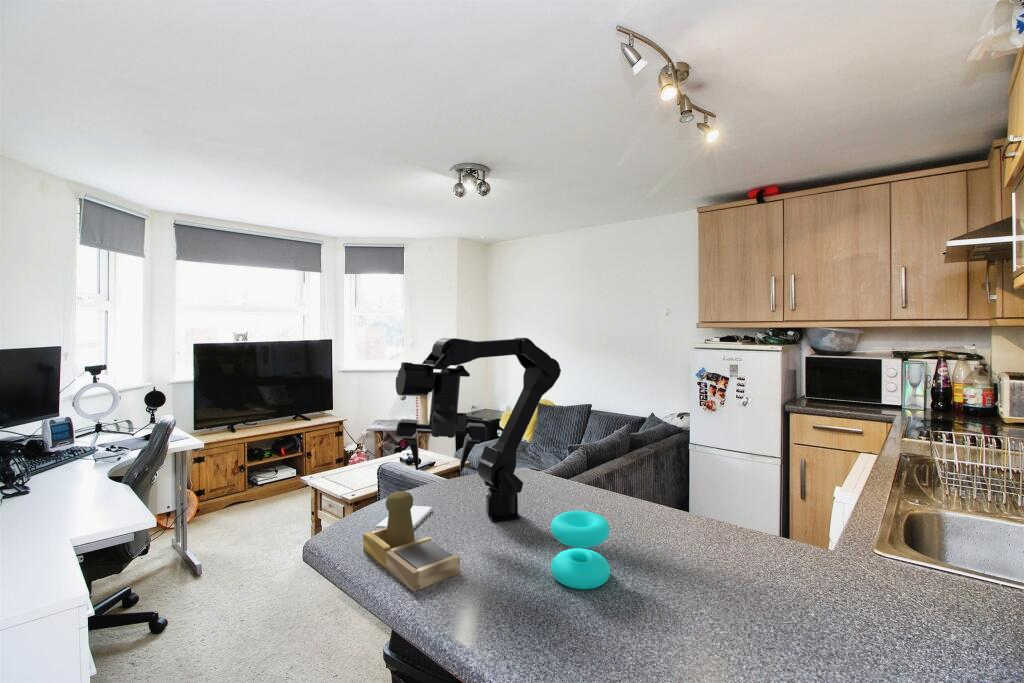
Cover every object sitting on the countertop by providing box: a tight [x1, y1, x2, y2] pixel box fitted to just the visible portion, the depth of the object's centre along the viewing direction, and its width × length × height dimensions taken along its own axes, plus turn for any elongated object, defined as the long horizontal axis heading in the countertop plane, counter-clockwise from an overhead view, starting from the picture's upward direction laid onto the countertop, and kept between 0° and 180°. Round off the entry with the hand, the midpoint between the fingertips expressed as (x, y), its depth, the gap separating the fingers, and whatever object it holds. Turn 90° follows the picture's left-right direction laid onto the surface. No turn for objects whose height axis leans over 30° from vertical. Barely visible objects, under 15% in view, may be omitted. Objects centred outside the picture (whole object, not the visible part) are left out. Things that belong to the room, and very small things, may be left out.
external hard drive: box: [375, 505, 434, 530], centre depth 106 cm, size 2×8×12 cm
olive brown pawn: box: [385, 490, 416, 549], centre depth 91 cm, size 6×6×11 cm
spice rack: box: [362, 527, 461, 592], centre depth 87 cm, size 9×20×4 cm, turn 40°
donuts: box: [550, 510, 611, 590], centre depth 80 cm, size 10×10×10 cm
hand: (439, 470), depth 99 cm, fingers open, 9 cm apart
